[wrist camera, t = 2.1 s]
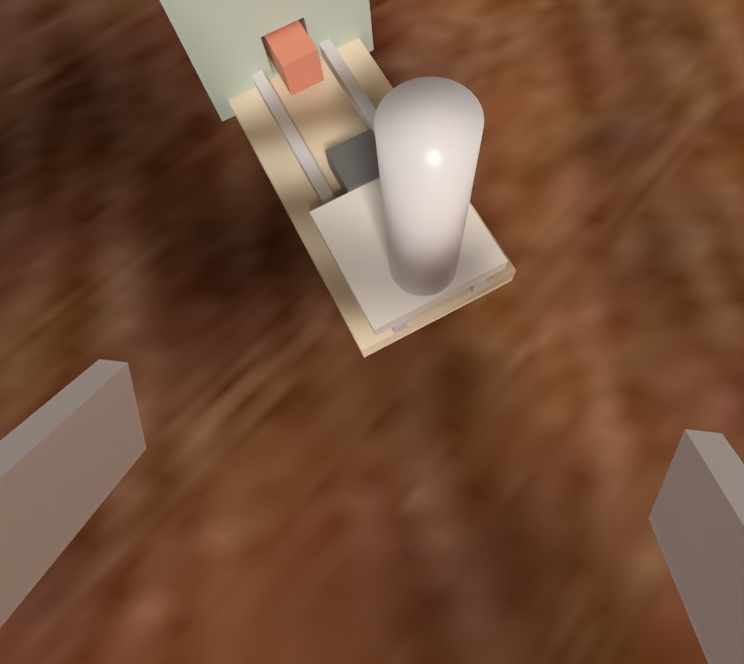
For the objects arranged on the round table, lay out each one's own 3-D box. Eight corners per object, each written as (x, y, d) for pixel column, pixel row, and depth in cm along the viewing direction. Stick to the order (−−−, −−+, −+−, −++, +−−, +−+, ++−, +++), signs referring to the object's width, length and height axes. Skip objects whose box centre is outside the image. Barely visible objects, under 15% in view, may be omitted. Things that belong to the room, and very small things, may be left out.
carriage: (292, 185, 31) (217, -5, 19) (408, 128, 32) (405, -90, 20) (376, 337, 28) (347, 221, 16) (503, 271, 29) (567, 111, 17)
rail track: (235, 115, 36) (222, 89, 34) (361, 55, 37) (357, 25, 35) (363, 357, 30) (359, 346, 28) (511, 280, 31) (519, 262, 29)
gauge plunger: (267, 54, 35) (257, 23, 33) (298, 39, 35) (290, 8, 33) (291, 95, 34) (282, 66, 32) (324, 79, 34) (317, 50, 32)
